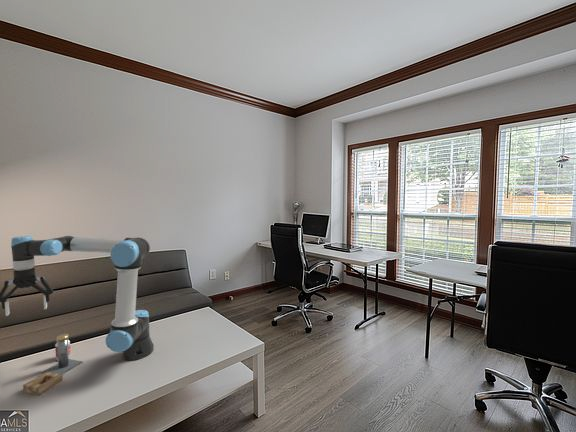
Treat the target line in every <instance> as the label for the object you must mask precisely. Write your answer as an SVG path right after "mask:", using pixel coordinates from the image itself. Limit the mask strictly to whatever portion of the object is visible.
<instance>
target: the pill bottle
mask: <svg viewBox="0 0 576 432" xmlns="http://www.w3.org/2000/svg"><path fill="white" fill-rule="evenodd" d="M54 349H55V361H58V341H57V340H56V343H55V344H54ZM71 355H72V353H71V341H70V340H69V339H68V359H70V357H71Z"/></svg>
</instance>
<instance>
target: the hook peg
mask: <svg viewBox="0 0 576 432" xmlns="http://www.w3.org/2000/svg"><path fill="white" fill-rule="evenodd" d="M68 340H69V334H68V333H63V334H58V335H57V336H56V342H57V341H58V360H57V361H58V362H57V363H58V368H65V367H67V366H68V365H69V360H68V359H69V358H68Z"/></svg>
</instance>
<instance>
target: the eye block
mask: <svg viewBox="0 0 576 432" xmlns="http://www.w3.org/2000/svg"><path fill="white" fill-rule="evenodd" d="M63 381H64V377H63V374H62V375H61V374H56V373H51V372H46V373H44V372H43V373H42V374H40V375H38V376H37V377H35V378H33V379H30V381H28V382H26V383H24V384H22V388H23V392H24V393H29V394H34V395H38V396H40V395H42V394H44V393H46V392H47V391H49V390H50V389H51V388H52V389H53V388H54V387H55V386H57V385H58V384H60V383H62V382H63Z"/></svg>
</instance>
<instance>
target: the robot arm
mask: <svg viewBox="0 0 576 432" xmlns="http://www.w3.org/2000/svg"><path fill="white" fill-rule="evenodd" d="M10 245H11V246H10V247H11V254H12V269H13V272H12V273H13V279H11V280H9V279H6V280H5V281H4V282H3V283H4V284H3V287H2V289H1V291H0V303H1V309H4V310H5V312H4V313H5V316H6V317H8V316H9V315H10V313H11V312H10V310H11V309H10V300H8V299H9V298H10V297H11V296H12V295H13V294H14V293H15V292H16V291H17V290H18V289H24V288H30V287H32V288H34V289H36V290H37V291H38V292H39V293H41V294H42V295H43V310H47V308H48V302H50V295H52V294H54V292H55V291H54V289H53V288H52V286H51V285H50V284H49V283H48V282H47V280H46V279H45V278H46V277H45V276H44V275H41V276H37V275H36V268H35V265H36V264H35V257H39V256H41V257H43V256H44V257H45V256H46V257H51V256H57V255H59V254H60V253H62V252H81V253H83V252H84V253H86V252H87V253H103V254H104V253H106V254H108V253H109V254H110V260H111V262H113V264H114V269H115V271H117V280H116V281H117V282H116V284H117V285H116V294H115V311H114V313H115V314H114V319H113V320H111V323H110V331H109V332H108V333H107V335H106V337H105V345H106V347H107V348H109V349H110V351H113V352H115V353H122V359H124V360H125V361H135V360H136V361H137V360H140V359H143V358H145V357H147V356H150V354H152V353H153V352H154V350H155V347H154V343H153V341H152V338H151V336H150V335H151V334H150V315H149V311H147V310H146V309H137V310H136V308H137V307H136V306H137V294H138V293H137V291H138V289H137V288H138V274H139V273H138V272H139V270H140V269H141V268H142V266H143V259H144V258H146V257H147V256H148V255H149V253H150V251H151V250H150V249H151V245H150V243H149V241H148V240H146V238H143V237H125V238H124V239H122V238H104V237H103V238H102V237H101V238H99V237H85V236H84V237H83V236H82V237H81V236H80V237H79V236H74V235H64V236H60V237H59V236H58V237H55V238H54V237H53V238H48V239H41V240H40V239H38V240H37V239H34V237H33V236H32V235H20V236H13V237H12V238H11V243H10ZM36 281H39V282H40V283H41V284H42V285H43V286H44V288H43V287H42V286H41V285H39V284H38V283H37V282H36ZM12 284H14V285H15V286H14V287H13V288H12V289H11V290H10V291H9V292H8V293H7V294H6V295H5V293H6V291H7V290H8V288H9V286H10V285H12ZM4 295H5V296H4Z"/></svg>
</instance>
